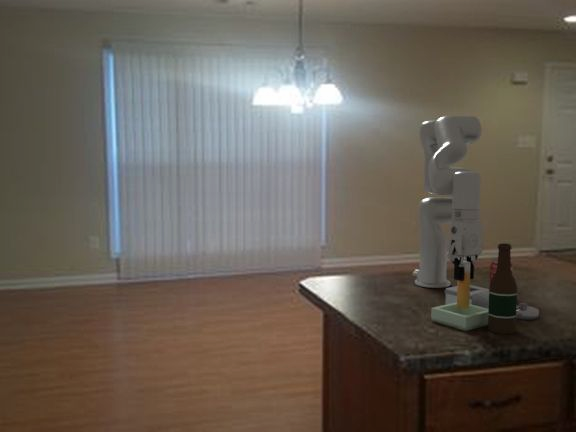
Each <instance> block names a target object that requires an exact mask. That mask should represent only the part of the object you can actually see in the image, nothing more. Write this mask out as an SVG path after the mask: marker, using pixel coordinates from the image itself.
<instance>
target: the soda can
mask: <svg viewBox="0 0 576 432" xmlns="http://www.w3.org/2000/svg"><path fill="white" fill-rule="evenodd" d="M497 263H498V259H493V260H491V263H490V266H489V283H490V282H491V279H492V277H493V276H494V274H495V273H496V270H497ZM512 263H513V262H512V261H511V274H512V275H513V276H514V265H513V264H512Z"/></svg>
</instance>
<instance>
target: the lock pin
mask: <svg viewBox="0 0 576 432" xmlns="http://www.w3.org/2000/svg"><path fill="white" fill-rule="evenodd" d="M470 264H471V262H469V261H465V260H464V262H463V267H464V268H465V270H464V281H459V280H457V285H456V286H457V307H458V308H469V298H470V285H471V279H470Z"/></svg>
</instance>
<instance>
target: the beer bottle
mask: <svg viewBox="0 0 576 432" xmlns="http://www.w3.org/2000/svg"><path fill="white" fill-rule="evenodd" d="M497 249H498V254H497V255H498V256H497V260H498V263H497V270H496V273H495V274H494V276H493V277H492V279H491V282H490V281H489V288H488V289H489V310H488V325H487V330H488V331H489V332H491V333H494V334H499V335H501V334H502V335H512V334H515V333H516V330H517V329H516V326H517V319H516V309H517V304H518V287H517V282H516V279H515V277H514V274H513V275H512V274H511V262H512V261H511V250H512V249H513V248H512V244H510V243H498V245H497Z"/></svg>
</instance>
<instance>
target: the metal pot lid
mask: <svg viewBox="0 0 576 432" xmlns="http://www.w3.org/2000/svg"><path fill="white" fill-rule="evenodd" d="M539 315H540V310H539V309H538V308H537V307H534V306H530V305H528V303H526V302H519V303H518V305H517V309H516V320H527V321H532V320H536V319H537V320H538V319H539Z"/></svg>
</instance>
